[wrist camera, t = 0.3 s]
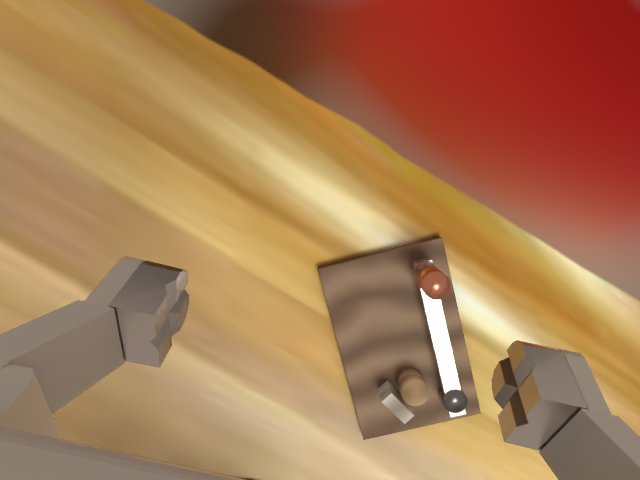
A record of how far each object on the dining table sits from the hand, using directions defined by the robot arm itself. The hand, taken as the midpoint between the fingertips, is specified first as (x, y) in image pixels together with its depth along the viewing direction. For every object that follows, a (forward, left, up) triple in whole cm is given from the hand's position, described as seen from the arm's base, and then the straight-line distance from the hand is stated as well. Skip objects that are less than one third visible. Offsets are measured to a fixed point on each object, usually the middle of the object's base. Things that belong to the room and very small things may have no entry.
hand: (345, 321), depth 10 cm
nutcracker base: (-24, -5, -53) cm, 58 cm away
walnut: (-31, -5, -51) cm, 60 cm away
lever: (-24, -10, -51) cm, 57 cm away
